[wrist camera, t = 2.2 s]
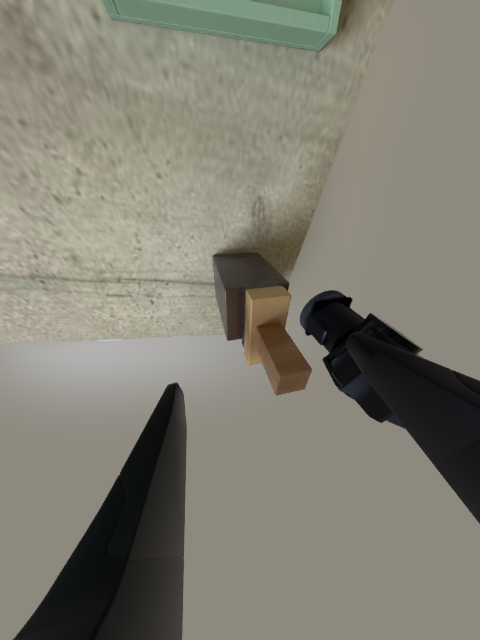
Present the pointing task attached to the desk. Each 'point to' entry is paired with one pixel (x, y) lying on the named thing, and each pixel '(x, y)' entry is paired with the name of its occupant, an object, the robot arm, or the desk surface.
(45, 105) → the desk surface
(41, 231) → the desk surface
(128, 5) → the tray
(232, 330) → the dark brown block
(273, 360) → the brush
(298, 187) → the desk surface
